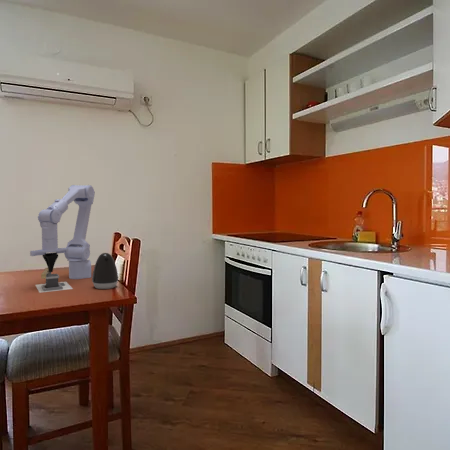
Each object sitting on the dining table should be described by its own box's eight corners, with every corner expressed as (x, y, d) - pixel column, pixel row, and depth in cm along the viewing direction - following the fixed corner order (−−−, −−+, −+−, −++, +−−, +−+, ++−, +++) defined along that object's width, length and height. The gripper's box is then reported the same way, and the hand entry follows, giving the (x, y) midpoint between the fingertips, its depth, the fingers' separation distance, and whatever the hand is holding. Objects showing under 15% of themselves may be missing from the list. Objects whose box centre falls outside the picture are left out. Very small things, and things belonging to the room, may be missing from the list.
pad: (63, 283, 149) (63, 282, 149) (64, 285, 146) (64, 284, 146) (54, 284, 147) (54, 283, 147) (55, 286, 144) (55, 285, 144)
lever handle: (52, 271, 150) (52, 267, 150) (47, 278, 136) (47, 273, 136) (45, 271, 149) (45, 267, 149) (39, 278, 136) (39, 274, 136)
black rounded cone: (94, 293, 138) (93, 255, 137) (90, 287, 147) (90, 251, 147) (120, 290, 143) (120, 253, 142) (115, 285, 152) (115, 250, 151)
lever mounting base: (66, 283, 153) (66, 268, 153) (72, 291, 141) (72, 274, 141) (35, 287, 147) (35, 271, 146) (39, 295, 134) (39, 277, 134)
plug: (57, 286, 144) (57, 273, 144) (59, 289, 140) (59, 275, 140) (44, 288, 141) (44, 274, 141) (46, 290, 138) (46, 276, 137)
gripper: (63, 237, 151) (63, 268, 152) (26, 239, 140) (27, 273, 141) (70, 238, 146) (71, 270, 147) (33, 240, 135) (34, 275, 136)
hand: (50, 271), depth 144 cm, fingers closed, pressing on lever handle
